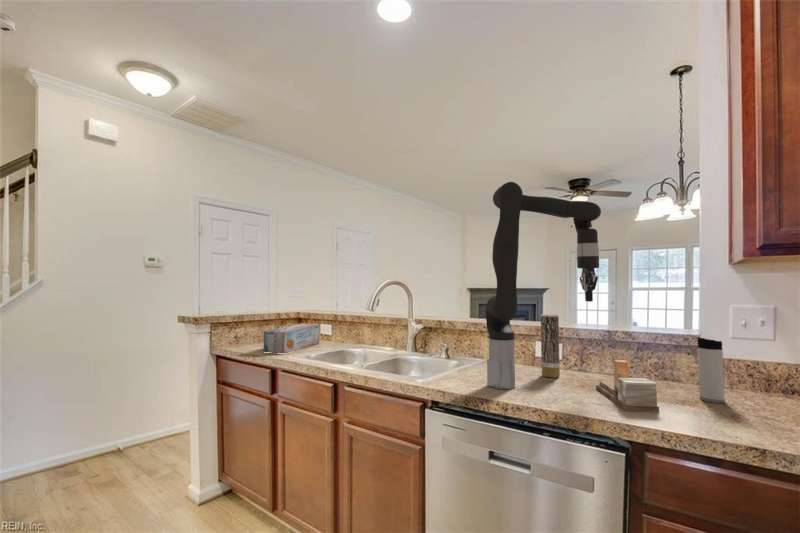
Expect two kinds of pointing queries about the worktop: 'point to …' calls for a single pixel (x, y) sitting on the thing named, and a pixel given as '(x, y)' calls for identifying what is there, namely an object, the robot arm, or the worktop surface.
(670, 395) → the worktop surface
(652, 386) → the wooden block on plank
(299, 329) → the soda box
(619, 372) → the orange flat block
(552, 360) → the bark textured post
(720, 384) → the travel mug
